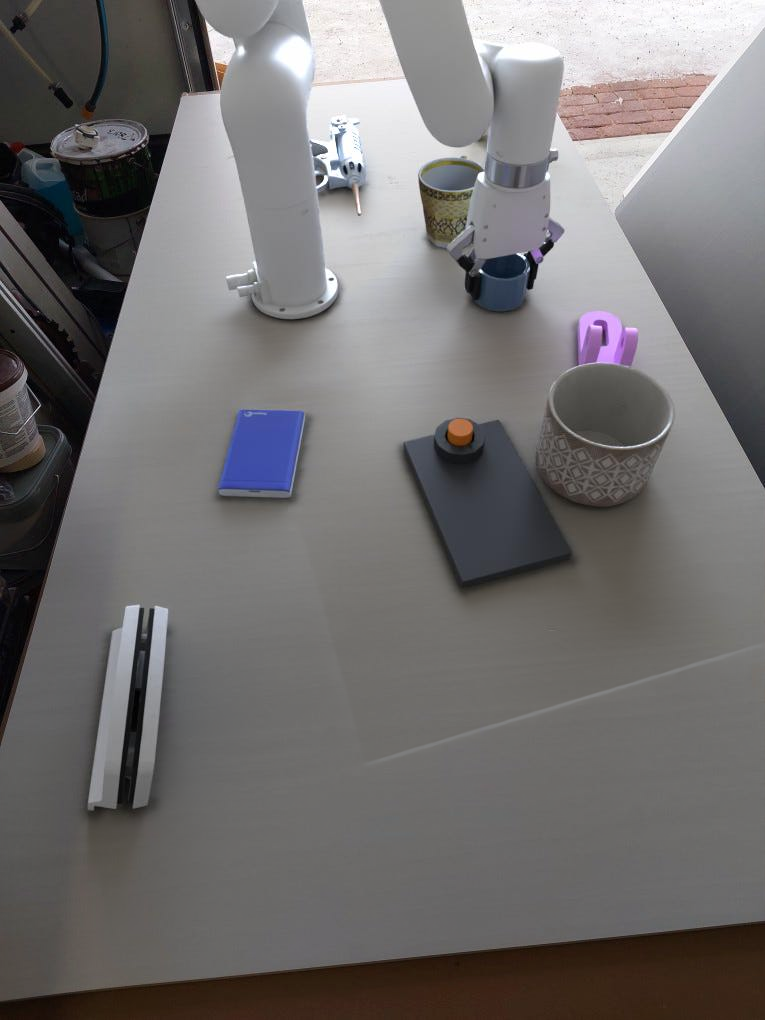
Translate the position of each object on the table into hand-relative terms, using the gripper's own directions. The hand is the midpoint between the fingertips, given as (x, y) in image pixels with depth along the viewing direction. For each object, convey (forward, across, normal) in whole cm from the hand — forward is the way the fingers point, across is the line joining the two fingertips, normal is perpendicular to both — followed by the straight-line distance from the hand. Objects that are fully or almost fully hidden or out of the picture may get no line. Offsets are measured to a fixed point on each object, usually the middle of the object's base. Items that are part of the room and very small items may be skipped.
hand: (499, 288), depth 98 cm
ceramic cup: (+1, +1, -18) cm, 18 cm away
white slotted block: (+2, +54, +48) cm, 72 cm away
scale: (+1, +16, +34) cm, 38 cm away
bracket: (+1, -8, +15) cm, 17 cm away
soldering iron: (+2, +17, -40) cm, 43 cm away
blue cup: (+1, 0, 0) cm, 1 cm away
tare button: (-1, +16, +27) cm, 31 cm away
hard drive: (+2, +38, +20) cm, 43 cm away
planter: (+1, +2, +33) cm, 34 cm away
